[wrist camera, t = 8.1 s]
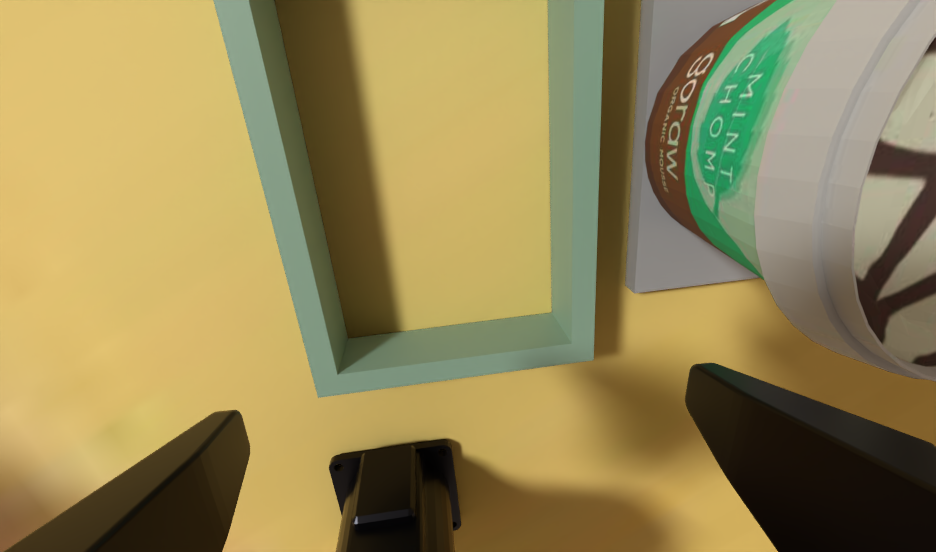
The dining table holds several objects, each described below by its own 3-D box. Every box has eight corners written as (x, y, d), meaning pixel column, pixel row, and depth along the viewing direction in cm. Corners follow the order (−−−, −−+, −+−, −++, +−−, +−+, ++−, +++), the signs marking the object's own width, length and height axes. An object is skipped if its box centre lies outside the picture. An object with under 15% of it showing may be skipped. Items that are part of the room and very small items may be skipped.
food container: (624, -35, 15) (933, -239, 6) (787, -47, 16) (1302, -254, 7) (610, 282, 20) (775, 436, 11) (736, 267, 21) (997, 402, 11)
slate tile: (770, 267, 22) (785, 274, 21) (625, 285, 21) (634, 293, 20) (836, -74, 17) (860, -84, 16) (644, -61, 16) (658, -70, 15)
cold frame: (571, 327, 22) (593, 360, 19) (331, 359, 21) (318, 397, 18) (574, -125, 15) (609, -176, 12) (219, -105, 14) (172, -155, 12)
